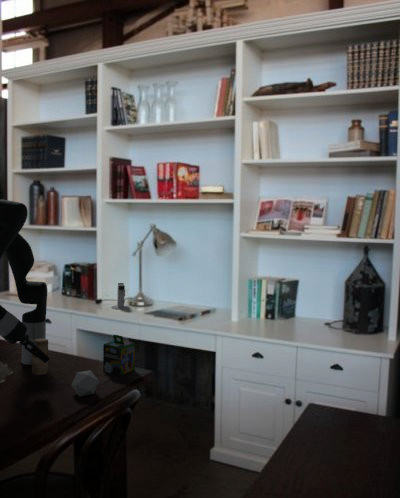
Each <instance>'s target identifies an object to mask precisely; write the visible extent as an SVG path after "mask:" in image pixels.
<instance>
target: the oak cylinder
mask: <svg viewBox="0 0 400 498" xmlns="http://www.w3.org/2000/svg"><path fill="white" fill-rule="evenodd" d="M33 341H34V342H35V343H36V344H37V345H38V348H39V349H40V350H42V352H43V353H45V354H46V355H47V356H48V357H49V339H47V338H46V339H35V340H33ZM37 352H38V350H36V351H35V352H34V353H37ZM48 372H49V360H48V361H47V362H46V363H44V362H43V361H42V360H41V359H39V358H38V357H35V356H34V355H33V354H32V365H31V374H32V375H34V376H35V375H36V376H39V375H45V374H46V375H47V374H48Z"/></svg>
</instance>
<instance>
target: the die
mask: <svg viewBox="0 0 400 498" xmlns="http://www.w3.org/2000/svg"><path fill="white" fill-rule="evenodd" d="M99 382H100V380H99V379H98V377H97V376H95V374H94V372H93V371H92V370H84V371H78V372H77V371H76V373H75V376H74V377H73V381H72V382H71V387H72V389H73V390H74V392H75V393H76V394H77V396H78V397H80V398H81V397H84V396H85V397H86V396H89V395H94V394H95V391H96V389H97V387H98V384H99Z"/></svg>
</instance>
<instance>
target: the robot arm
mask: <svg viewBox="0 0 400 498" xmlns="http://www.w3.org/2000/svg"><path fill="white" fill-rule="evenodd" d="M28 211H29V210H28V208H27V206H26V204H24V203H23V202H19V201H15V200H8V199H0V261H1V259H2V258H3V256H4V255H6V256H5V257H6V258H7V262H8V265H9V268H10V270H11V273H12V275H13V279H14V283H15V288H16V293H17V297H18V300H19V302H20V303H21V304H24V305H36V307H35V308H34V309H33V310H29V311H26V312H24V313H22V316H21V320H20V319H19V318H18V317H17V316H15V315H14V314H13V313H11V312H10V311H8V310H7V309H6V308H5V307H3V306H2V305H1V304H0V337H1V338H3V340H4V341H6V342H7V343H9V344H10V345H14V344H16V343H18V344H19V345H20V346H21V364H23V365H25V366H32V354H33V355H34V356H35V357H38V358H39V359H41V360H42V361H43V362H44V363H46V362H47V361H48V362H49V361H50V357H49V355H48V356H47V355H46V354H45V353H43V352H42V350H40V349H39V348H38V345H37V344H36V343H35V342H34V341H33V340H35V339H47V333H46V332H47V331H46V329H47V328H46V327H47V323H46V322H47V321H46V319H47V304H48V303H47V302H48V285H47V283H46V282H45V281H29V280H28V279H27V276H28V274H29V273H30V272H31V270H32V268H33V266H34V263H35V256H34V254H33V250H32V249H33V248H32V247H31V245H30V243H29V242H28V241H27V239H25V238H24V236H23V235H21V234H20V232H21V230H22V229H23V227H24V226H25V223H26V222H27V219H28ZM36 350H38V352H37V353H34V352H35V351H36Z"/></svg>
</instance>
